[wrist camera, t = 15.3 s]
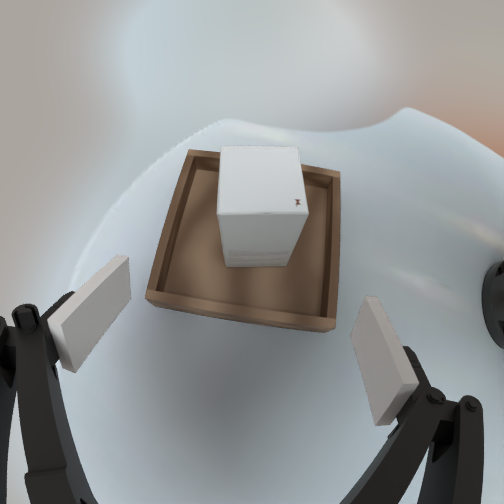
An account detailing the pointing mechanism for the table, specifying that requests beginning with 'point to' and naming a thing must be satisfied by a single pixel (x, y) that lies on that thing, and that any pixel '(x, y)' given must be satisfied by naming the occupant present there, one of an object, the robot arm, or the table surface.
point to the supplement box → (260, 204)
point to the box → (247, 278)
